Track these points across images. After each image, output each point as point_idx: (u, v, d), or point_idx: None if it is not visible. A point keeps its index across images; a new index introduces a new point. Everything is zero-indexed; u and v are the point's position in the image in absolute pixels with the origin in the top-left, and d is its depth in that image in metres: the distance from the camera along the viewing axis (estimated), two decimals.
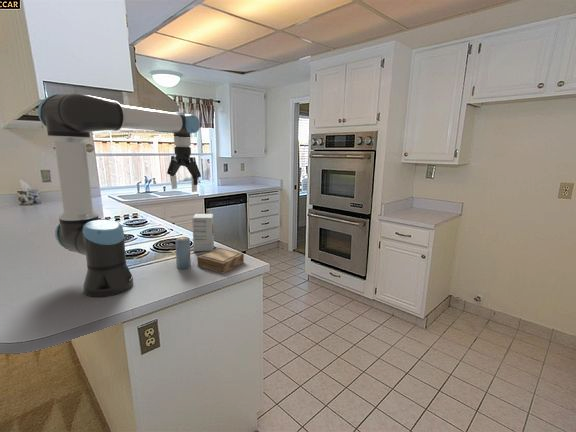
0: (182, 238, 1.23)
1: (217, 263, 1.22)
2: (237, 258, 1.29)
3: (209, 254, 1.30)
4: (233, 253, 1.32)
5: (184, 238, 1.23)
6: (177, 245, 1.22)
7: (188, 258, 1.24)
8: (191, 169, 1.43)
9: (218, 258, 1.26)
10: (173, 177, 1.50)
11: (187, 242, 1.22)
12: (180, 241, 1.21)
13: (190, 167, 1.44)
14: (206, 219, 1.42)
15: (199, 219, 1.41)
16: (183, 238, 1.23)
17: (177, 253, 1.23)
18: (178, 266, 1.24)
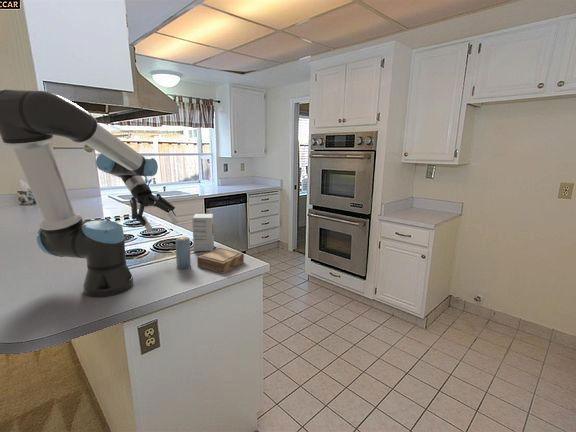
0: (182, 238, 1.23)
1: (217, 263, 1.22)
2: (237, 258, 1.29)
3: (209, 254, 1.30)
4: (233, 253, 1.32)
5: (184, 238, 1.23)
6: (177, 245, 1.22)
7: (188, 258, 1.24)
8: None
9: (218, 258, 1.26)
10: None
11: (187, 242, 1.22)
12: (180, 241, 1.21)
13: None
14: (206, 219, 1.42)
15: (199, 219, 1.41)
16: (183, 238, 1.23)
17: (177, 253, 1.23)
18: (178, 266, 1.24)
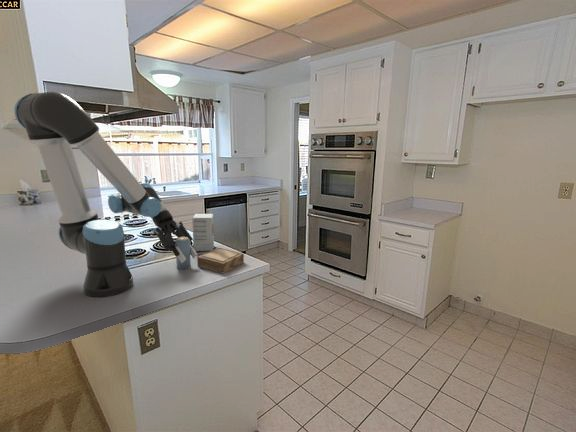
0: (182, 238, 1.23)
1: (217, 263, 1.22)
2: (237, 258, 1.29)
3: (209, 254, 1.30)
4: (233, 253, 1.32)
5: (184, 238, 1.23)
6: (177, 245, 1.22)
7: (188, 258, 1.24)
8: None
9: (218, 258, 1.26)
10: None
11: (187, 242, 1.22)
12: (180, 241, 1.21)
13: None
14: (206, 219, 1.42)
15: (199, 219, 1.41)
16: (183, 238, 1.23)
17: None
18: (178, 266, 1.24)
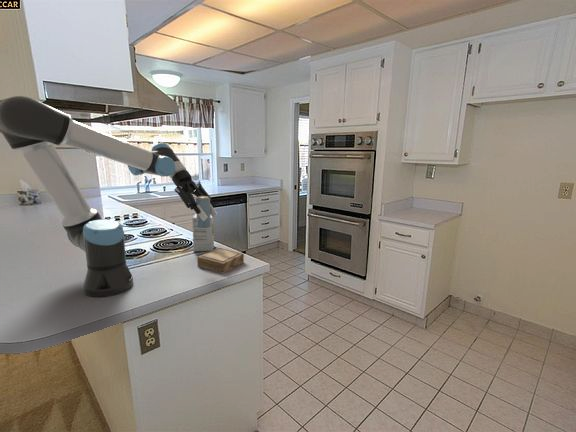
0: (202, 197, 1.23)
1: (217, 263, 1.22)
2: (237, 258, 1.29)
3: (209, 254, 1.30)
4: (233, 253, 1.32)
5: (204, 197, 1.23)
6: (198, 203, 1.22)
7: (208, 217, 1.25)
8: None
9: (218, 258, 1.26)
10: None
11: (208, 200, 1.23)
12: (201, 199, 1.21)
13: None
14: None
15: None
16: (203, 197, 1.23)
17: None
18: (199, 225, 1.24)
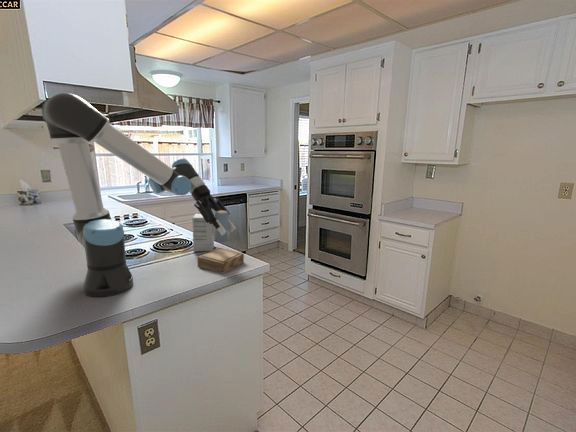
0: (221, 211, 1.26)
1: (217, 263, 1.22)
2: (237, 258, 1.29)
3: (209, 254, 1.30)
4: (233, 253, 1.32)
5: (223, 211, 1.26)
6: (217, 218, 1.24)
7: (227, 231, 1.27)
8: None
9: (218, 258, 1.26)
10: None
11: (226, 215, 1.25)
12: (220, 214, 1.24)
13: None
14: None
15: (199, 219, 1.41)
16: (222, 211, 1.26)
17: None
18: (217, 239, 1.26)
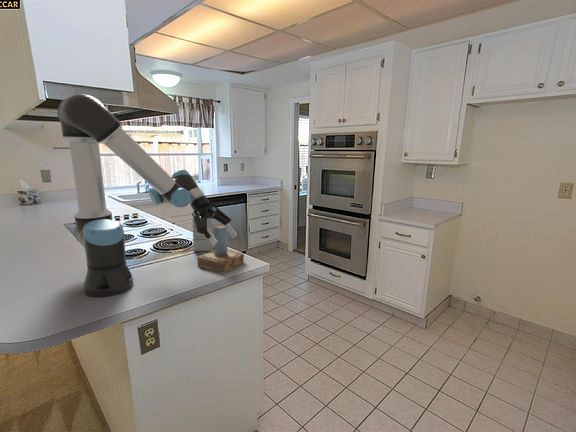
0: (220, 226, 1.27)
1: (217, 263, 1.22)
2: (237, 258, 1.29)
3: (209, 254, 1.30)
4: (233, 253, 1.32)
5: (222, 226, 1.27)
6: (216, 233, 1.26)
7: (226, 246, 1.28)
8: None
9: (218, 258, 1.26)
10: None
11: (225, 230, 1.26)
12: (219, 229, 1.25)
13: None
14: None
15: None
16: (221, 226, 1.27)
17: None
18: (216, 254, 1.27)
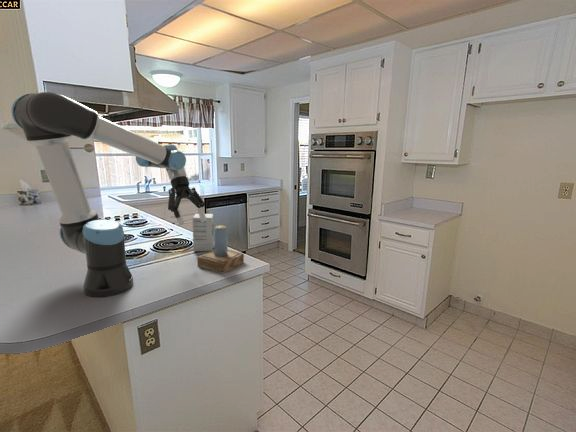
0: (220, 226, 1.27)
1: (217, 263, 1.22)
2: (237, 258, 1.29)
3: (209, 254, 1.30)
4: (233, 253, 1.32)
5: (222, 226, 1.27)
6: (216, 233, 1.25)
7: (226, 246, 1.28)
8: None
9: (218, 258, 1.26)
10: None
11: (225, 230, 1.26)
12: (219, 229, 1.25)
13: None
14: None
15: (199, 219, 1.41)
16: (221, 226, 1.27)
17: (215, 241, 1.26)
18: (216, 254, 1.27)
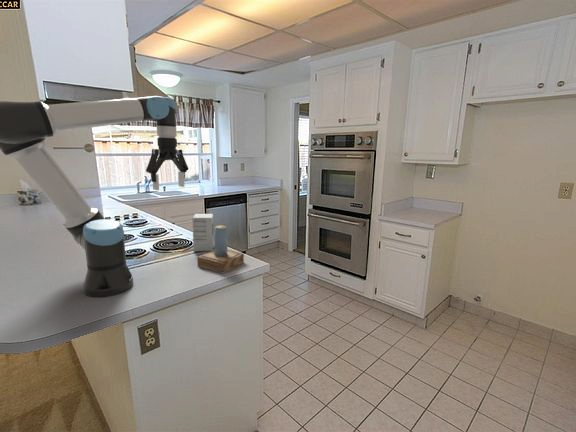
0: (220, 226, 1.27)
1: (217, 263, 1.22)
2: (237, 258, 1.29)
3: (209, 254, 1.30)
4: (233, 253, 1.32)
5: (222, 226, 1.27)
6: (216, 233, 1.25)
7: (226, 246, 1.28)
8: None
9: (218, 258, 1.26)
10: None
11: (225, 230, 1.26)
12: (219, 229, 1.25)
13: None
14: (206, 219, 1.42)
15: (199, 219, 1.41)
16: (221, 226, 1.27)
17: (215, 241, 1.26)
18: (216, 254, 1.27)
